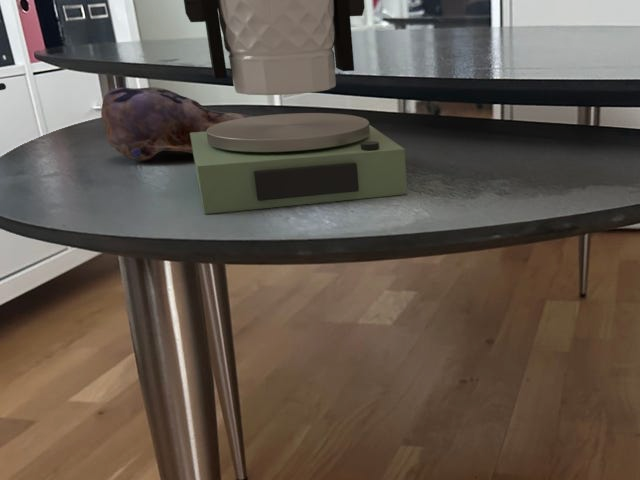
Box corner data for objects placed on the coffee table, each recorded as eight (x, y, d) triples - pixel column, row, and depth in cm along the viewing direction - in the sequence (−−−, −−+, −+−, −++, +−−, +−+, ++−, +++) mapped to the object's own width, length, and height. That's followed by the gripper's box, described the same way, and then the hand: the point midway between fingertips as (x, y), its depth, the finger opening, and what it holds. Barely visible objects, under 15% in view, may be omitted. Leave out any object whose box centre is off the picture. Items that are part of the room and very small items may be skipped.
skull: (271, 139, 73) (256, 66, 70) (248, 170, 67) (230, 92, 64) (136, 148, 74) (115, 76, 71) (100, 180, 68) (75, 102, 64)
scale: (196, 173, 64) (188, 127, 63) (365, 158, 68) (362, 114, 66) (205, 216, 52) (196, 160, 51) (408, 195, 56) (406, 143, 55)
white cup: (223, 87, 60) (200, -72, 56) (334, 80, 62) (320, -73, 58) (228, 100, 53) (203, -80, 49) (353, 92, 55) (339, -80, 51)
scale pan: (204, 130, 62) (202, 119, 62) (352, 119, 65) (351, 109, 65) (212, 157, 53) (210, 144, 52) (386, 144, 56) (385, 131, 55)
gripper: (26, -400, 41) (119, 88, 51) (430, -362, 47) (445, 69, 57) (44, -349, 48) (123, 76, 57) (397, -321, 54) (416, 60, 63)
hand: (283, 72), depth 57 cm, fingers closed on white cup, 8 cm apart
